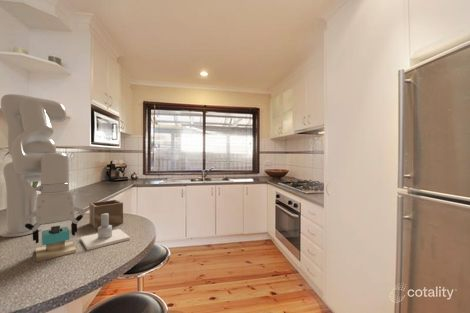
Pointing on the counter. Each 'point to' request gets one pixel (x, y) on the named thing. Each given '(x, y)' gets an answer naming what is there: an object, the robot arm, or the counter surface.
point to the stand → (54, 248)
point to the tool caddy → (110, 207)
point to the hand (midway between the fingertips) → (55, 238)
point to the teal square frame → (55, 236)
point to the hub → (104, 235)
